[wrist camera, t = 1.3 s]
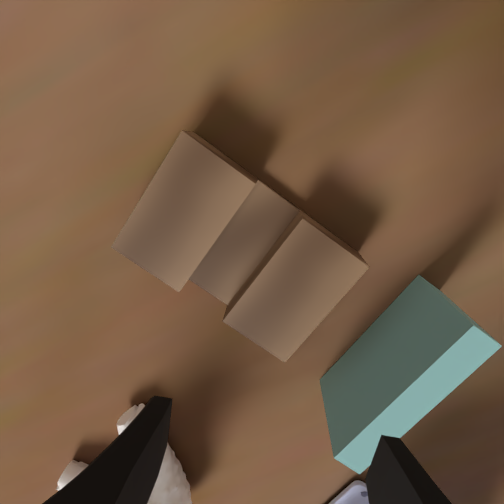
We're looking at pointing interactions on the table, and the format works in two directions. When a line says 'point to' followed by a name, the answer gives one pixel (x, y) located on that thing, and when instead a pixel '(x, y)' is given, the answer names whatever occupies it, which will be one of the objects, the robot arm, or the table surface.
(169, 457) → the sitting furry creature
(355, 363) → the teal rectangular block
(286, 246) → the slot block
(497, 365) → the table surface
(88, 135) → the table surface
